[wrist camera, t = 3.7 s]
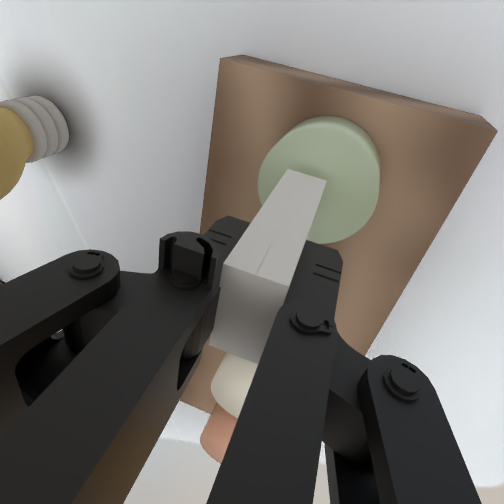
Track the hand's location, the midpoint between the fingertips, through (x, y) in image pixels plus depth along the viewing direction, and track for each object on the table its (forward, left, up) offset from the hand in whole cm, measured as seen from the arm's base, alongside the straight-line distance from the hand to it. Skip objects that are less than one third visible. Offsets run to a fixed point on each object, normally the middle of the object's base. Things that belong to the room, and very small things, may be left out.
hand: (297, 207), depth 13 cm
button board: (0, -10, -7) cm, 13 cm away
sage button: (0, 0, -4) cm, 4 cm away
